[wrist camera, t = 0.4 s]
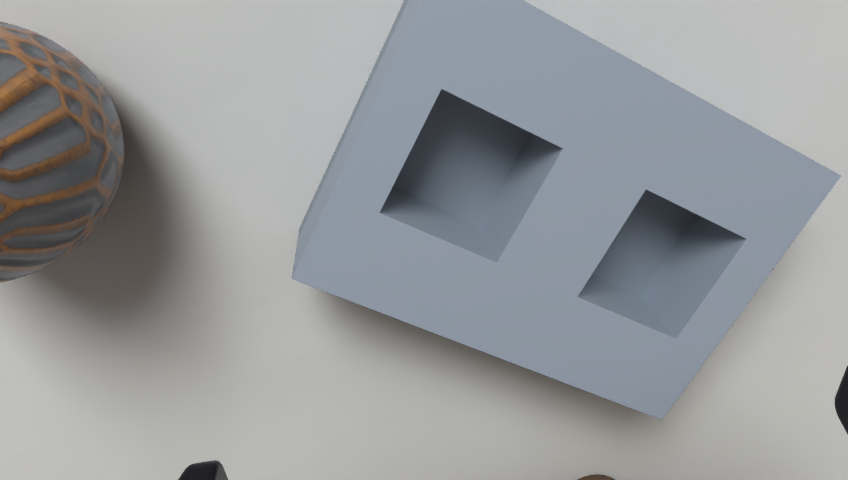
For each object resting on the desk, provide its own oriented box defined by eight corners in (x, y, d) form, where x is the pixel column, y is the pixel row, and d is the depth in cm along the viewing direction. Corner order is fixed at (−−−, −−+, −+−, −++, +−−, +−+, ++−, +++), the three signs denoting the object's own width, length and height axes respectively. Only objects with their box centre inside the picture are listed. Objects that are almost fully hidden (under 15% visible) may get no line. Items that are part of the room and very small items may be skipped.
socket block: (620, 357, 28) (661, 420, 24) (299, 228, 24) (291, 278, 20) (767, 141, 25) (840, 175, 21) (425, -46, 21) (443, -44, 17)
